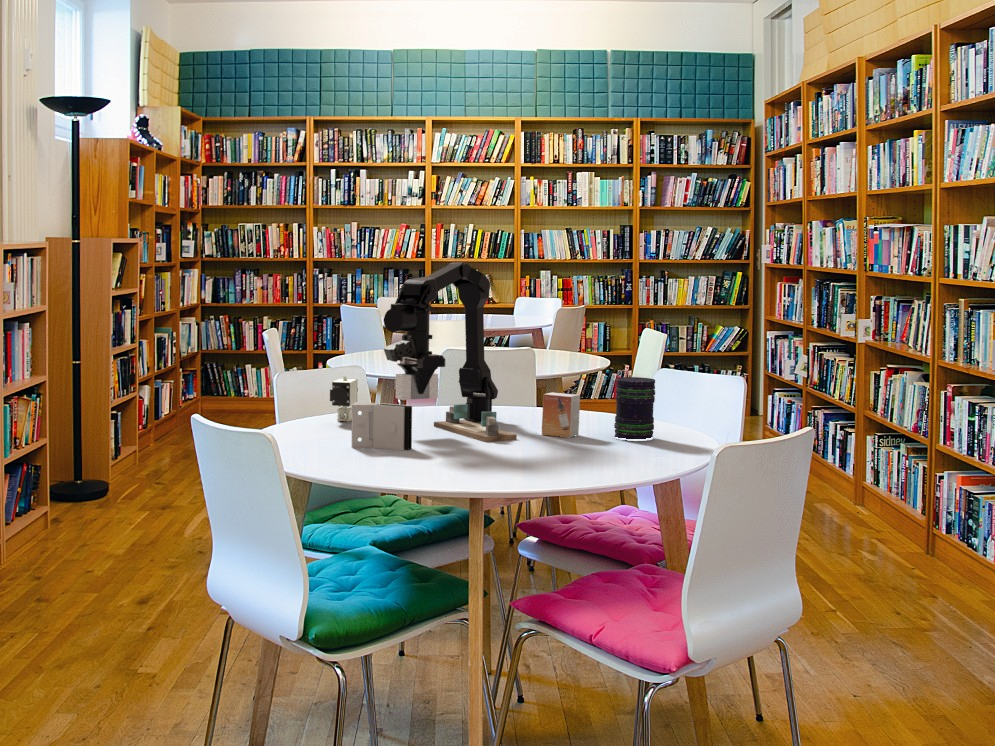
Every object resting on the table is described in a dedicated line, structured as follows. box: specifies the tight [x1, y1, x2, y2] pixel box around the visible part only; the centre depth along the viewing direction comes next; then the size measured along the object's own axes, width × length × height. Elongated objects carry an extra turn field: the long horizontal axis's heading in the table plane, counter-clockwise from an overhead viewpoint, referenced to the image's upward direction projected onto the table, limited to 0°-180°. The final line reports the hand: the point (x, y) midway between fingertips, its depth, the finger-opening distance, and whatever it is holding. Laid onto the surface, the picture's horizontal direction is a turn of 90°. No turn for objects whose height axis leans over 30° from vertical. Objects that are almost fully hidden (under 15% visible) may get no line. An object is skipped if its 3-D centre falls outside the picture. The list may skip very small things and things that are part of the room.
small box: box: [541, 391, 581, 438], centre depth 270 cm, size 8×6×10 cm
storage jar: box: [613, 376, 656, 439], centre depth 267 cm, size 10×10×15 cm
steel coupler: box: [394, 372, 439, 401], centre depth 267 cm, size 10×4×6 cm, turn 122°
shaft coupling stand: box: [433, 403, 518, 443], centre depth 271 cm, size 9×26×6 cm, turn 32°
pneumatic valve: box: [329, 375, 359, 423], centre depth 286 cm, size 6×12×12 cm, turn 174°
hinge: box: [351, 402, 413, 451], centre depth 248 cm, size 14×5×10 cm, turn 80°
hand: (416, 392), depth 267 cm, fingers closed on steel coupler, 4 cm apart
